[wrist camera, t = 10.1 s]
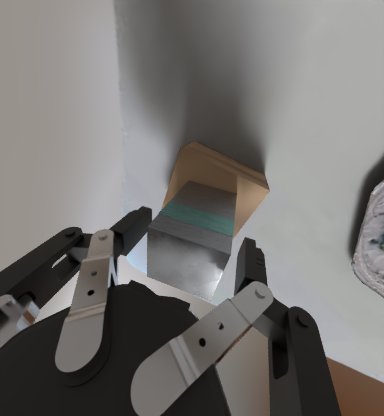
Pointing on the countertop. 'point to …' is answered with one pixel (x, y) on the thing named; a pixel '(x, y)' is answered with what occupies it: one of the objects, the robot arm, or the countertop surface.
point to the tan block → (219, 179)
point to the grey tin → (192, 239)
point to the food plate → (371, 243)
